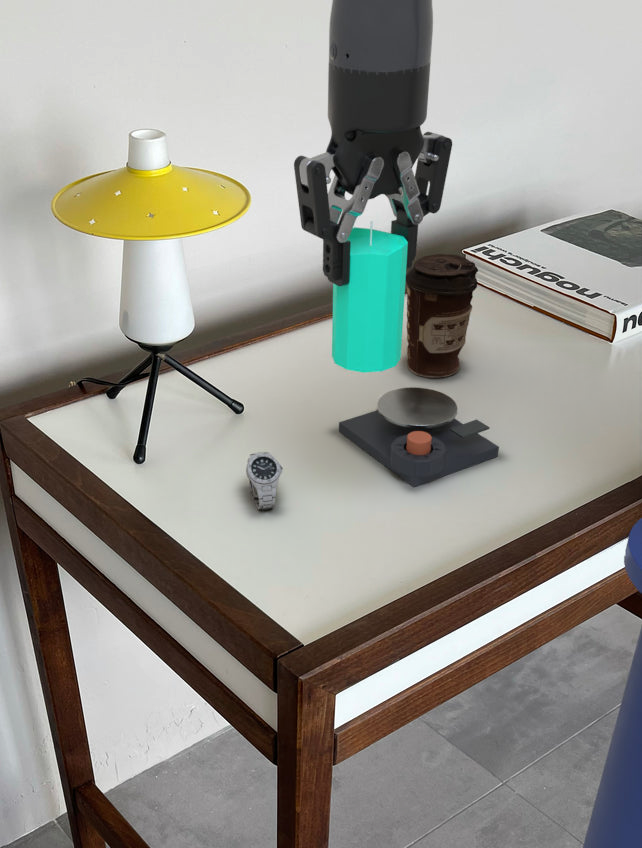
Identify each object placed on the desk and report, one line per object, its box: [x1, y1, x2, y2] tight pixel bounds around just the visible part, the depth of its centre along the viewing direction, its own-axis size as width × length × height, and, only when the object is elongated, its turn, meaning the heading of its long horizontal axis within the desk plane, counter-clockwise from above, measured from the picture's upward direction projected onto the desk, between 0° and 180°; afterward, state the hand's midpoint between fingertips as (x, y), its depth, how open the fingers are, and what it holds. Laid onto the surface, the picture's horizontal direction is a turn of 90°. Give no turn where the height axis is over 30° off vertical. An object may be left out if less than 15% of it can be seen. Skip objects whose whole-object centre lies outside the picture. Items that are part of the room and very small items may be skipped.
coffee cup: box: [405, 253, 479, 378], centre depth 118 cm, size 9×8×13 cm
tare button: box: [406, 431, 432, 455], centre depth 100 cm, size 2×2×2 cm
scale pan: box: [376, 387, 491, 438], centre depth 106 cm, size 12×8×1 cm
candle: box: [331, 220, 408, 374], centre depth 85 cm, size 6×6×12 cm
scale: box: [338, 409, 500, 488], centre depth 106 cm, size 14×12×3 cm
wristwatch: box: [245, 451, 284, 511], centre depth 97 cm, size 4×6×5 cm, turn 12°
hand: (369, 273), depth 84 cm, fingers closed on candle, 6 cm apart
